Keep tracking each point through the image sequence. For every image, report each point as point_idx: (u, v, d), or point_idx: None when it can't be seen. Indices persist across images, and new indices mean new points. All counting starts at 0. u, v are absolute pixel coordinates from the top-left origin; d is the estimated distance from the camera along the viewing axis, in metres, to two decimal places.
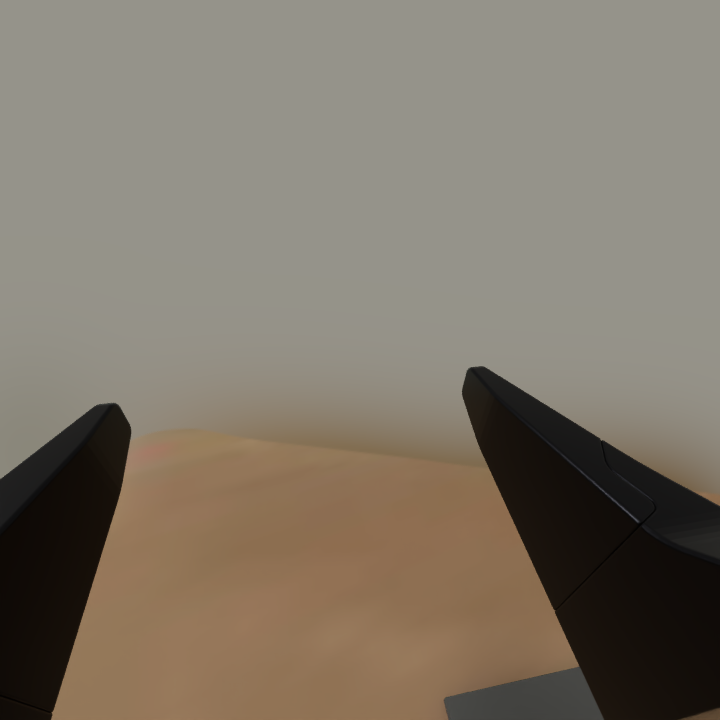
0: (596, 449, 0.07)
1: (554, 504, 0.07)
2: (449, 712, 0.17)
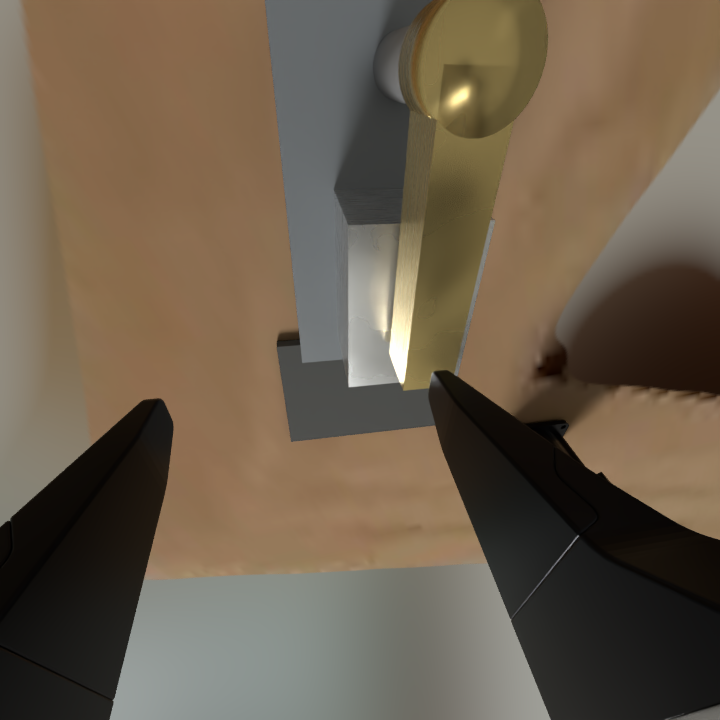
0: (547, 456, 0.07)
1: (507, 512, 0.07)
2: (297, 439, 0.28)
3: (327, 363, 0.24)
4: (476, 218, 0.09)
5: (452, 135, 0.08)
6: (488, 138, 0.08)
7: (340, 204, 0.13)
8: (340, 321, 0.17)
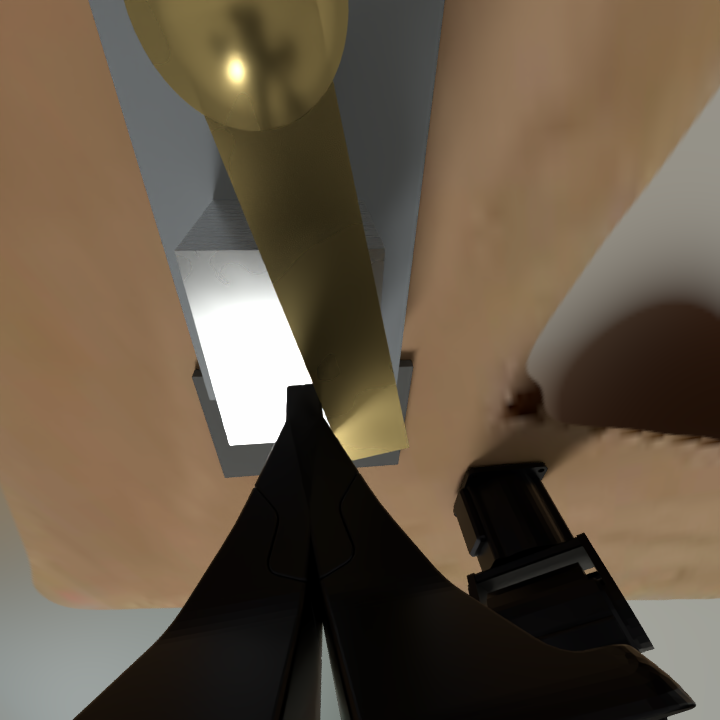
0: (341, 484, 0.06)
1: None
2: (232, 475, 0.25)
3: None
4: (342, 241, 0.06)
5: (242, 132, 0.05)
6: (304, 121, 0.05)
7: (198, 220, 0.10)
8: None
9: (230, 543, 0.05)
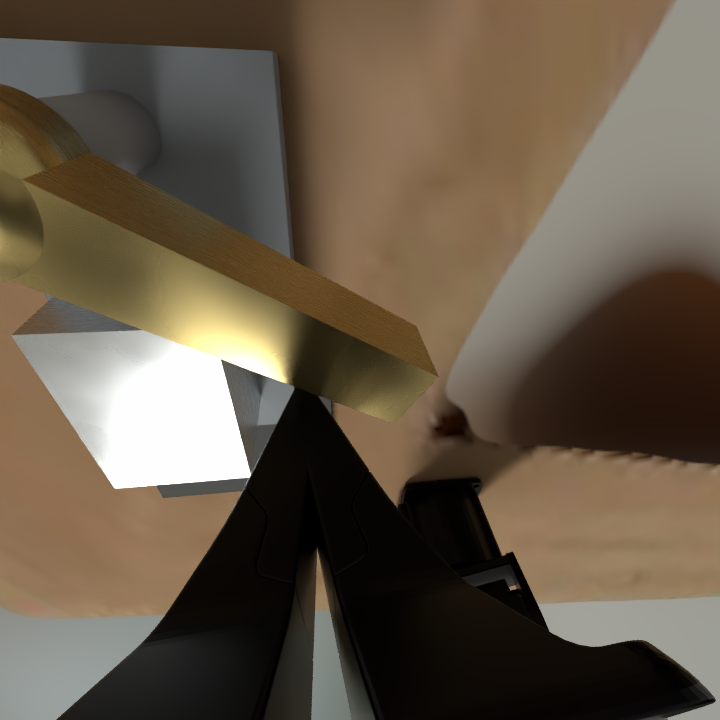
0: (352, 483, 0.06)
1: (319, 541, 0.07)
2: (170, 495, 0.26)
3: None
4: (170, 272, 0.06)
5: (34, 268, 0.06)
6: (46, 224, 0.06)
7: None
8: None
9: (218, 545, 0.05)
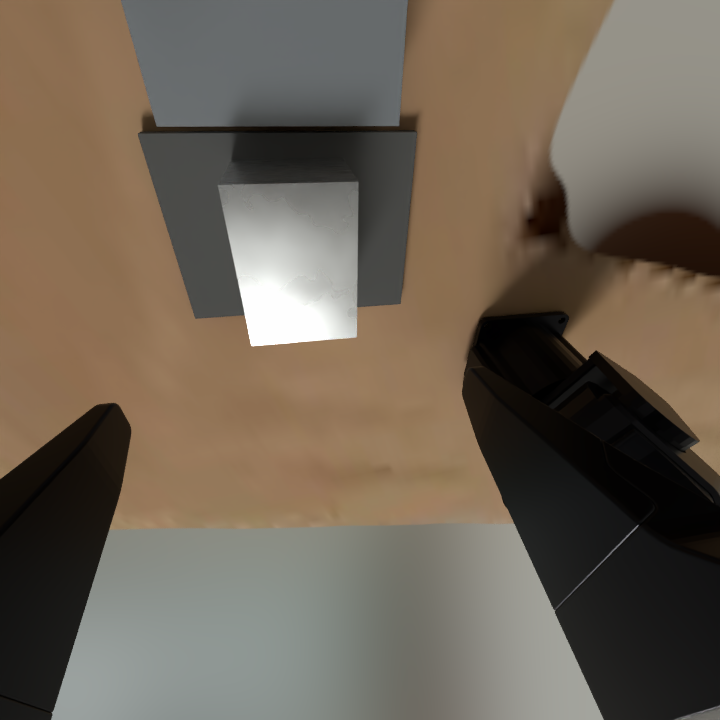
0: (596, 449, 0.07)
1: (554, 504, 0.07)
2: (204, 316, 0.21)
3: (222, 175, 0.17)
4: None
5: None
6: None
7: (226, 170, 0.15)
8: None
9: None
